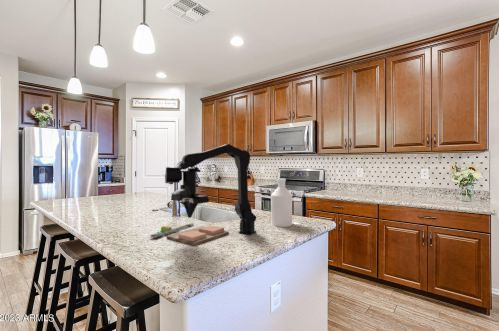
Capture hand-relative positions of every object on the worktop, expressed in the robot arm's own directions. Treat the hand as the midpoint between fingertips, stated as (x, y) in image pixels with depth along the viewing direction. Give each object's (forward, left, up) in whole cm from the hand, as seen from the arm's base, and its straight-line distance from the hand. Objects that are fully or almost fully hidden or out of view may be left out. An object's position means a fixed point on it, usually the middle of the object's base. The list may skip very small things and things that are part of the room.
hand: (189, 217), depth 119 cm
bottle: (-19, -49, -10) cm, 54 cm away
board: (+1, -6, -10) cm, 12 cm away
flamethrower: (+18, -5, -11) cm, 22 cm away
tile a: (+3, -12, -8) cm, 15 cm away
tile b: (+3, 0, -8) cm, 8 cm away
